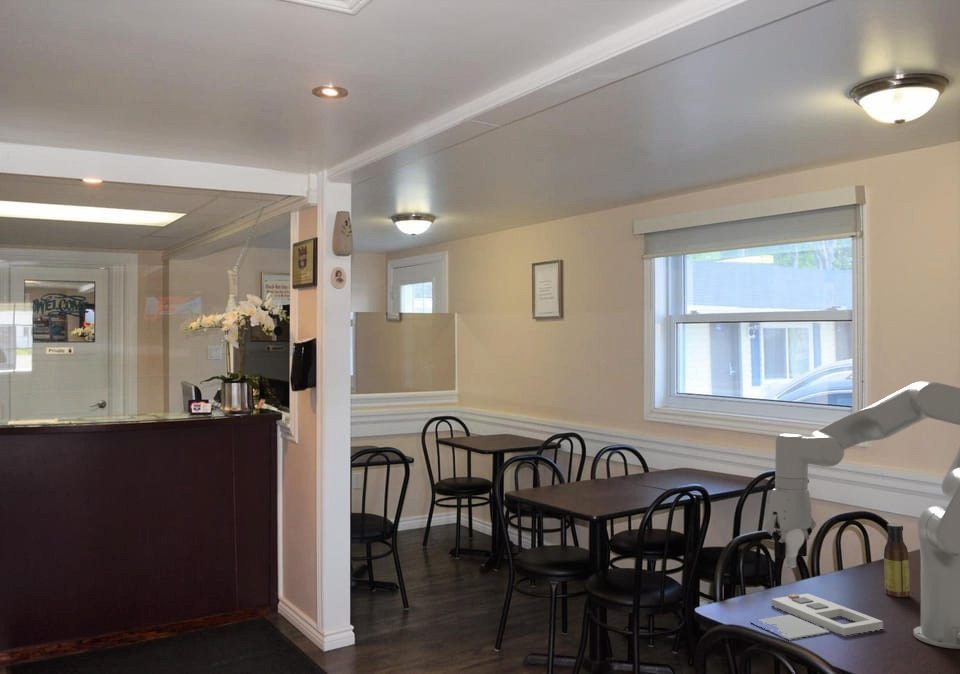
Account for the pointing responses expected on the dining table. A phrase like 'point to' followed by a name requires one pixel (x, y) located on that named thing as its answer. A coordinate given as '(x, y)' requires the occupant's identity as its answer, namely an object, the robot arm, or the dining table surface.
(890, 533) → the sauce bottle
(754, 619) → the dining table surface
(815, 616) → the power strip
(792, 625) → the mat
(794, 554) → the lightbulb
